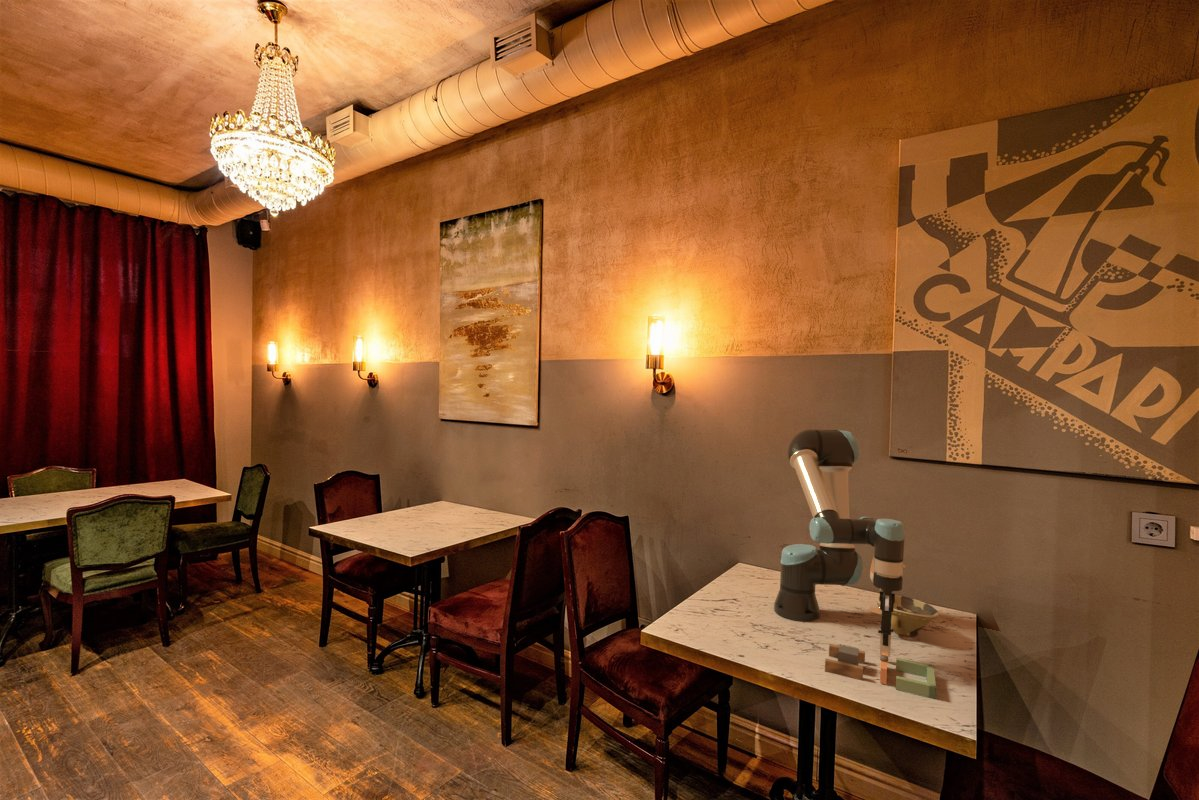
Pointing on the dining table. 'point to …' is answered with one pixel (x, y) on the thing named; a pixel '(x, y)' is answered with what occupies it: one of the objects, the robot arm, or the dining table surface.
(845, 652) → the block
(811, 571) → the robot arm
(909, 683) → the bracket
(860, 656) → the clip rails
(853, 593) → the dining table surface
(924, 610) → the bowl
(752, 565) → the dining table surface
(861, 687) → the dining table surface
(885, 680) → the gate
